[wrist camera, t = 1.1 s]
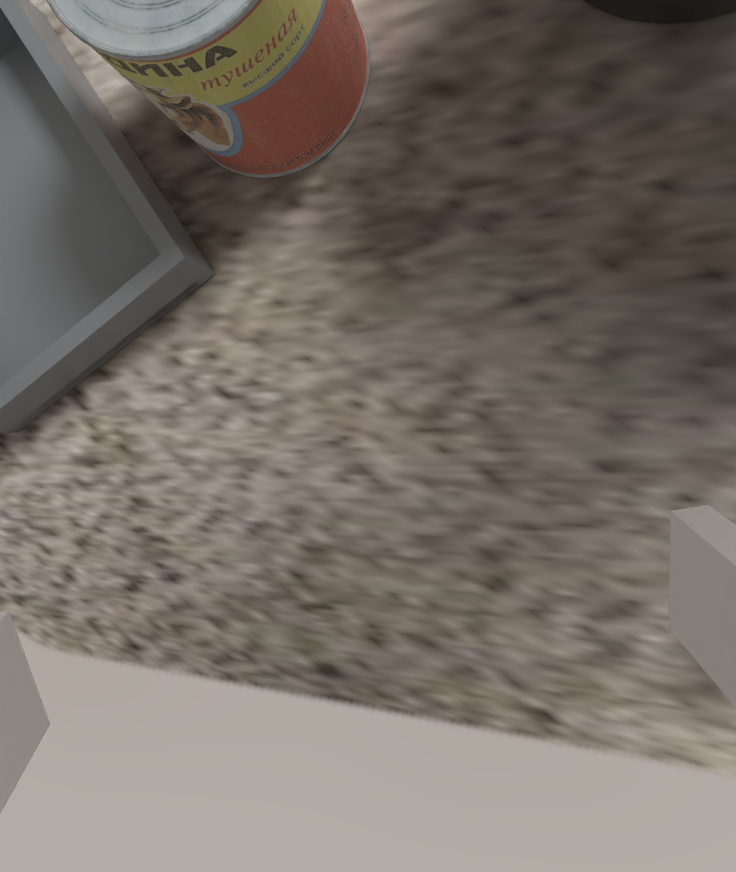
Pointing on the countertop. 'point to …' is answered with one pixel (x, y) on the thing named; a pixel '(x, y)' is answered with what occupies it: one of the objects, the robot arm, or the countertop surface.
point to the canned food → (238, 71)
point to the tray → (72, 226)
